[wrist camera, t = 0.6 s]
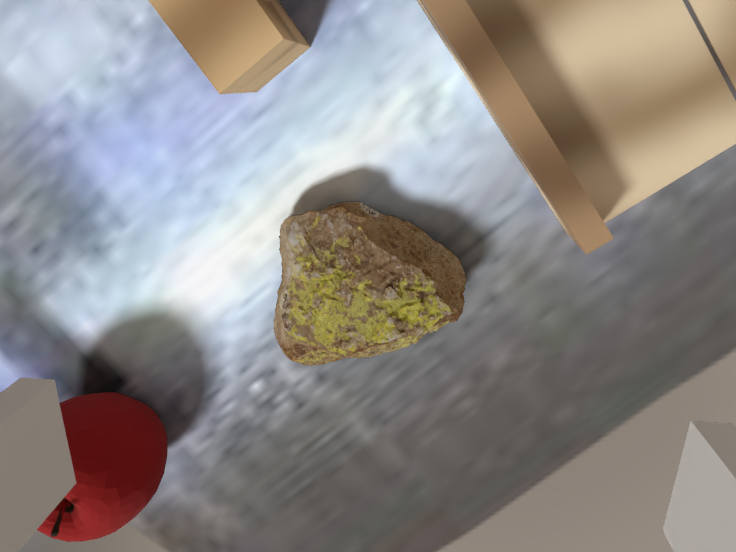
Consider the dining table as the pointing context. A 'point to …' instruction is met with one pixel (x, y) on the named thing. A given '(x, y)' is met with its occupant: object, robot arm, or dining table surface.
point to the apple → (107, 465)
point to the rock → (361, 284)
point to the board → (599, 93)
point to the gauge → (235, 39)
